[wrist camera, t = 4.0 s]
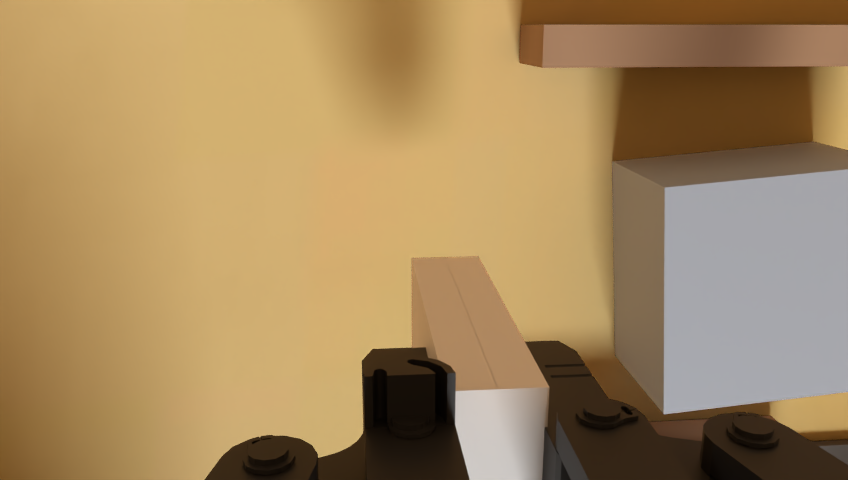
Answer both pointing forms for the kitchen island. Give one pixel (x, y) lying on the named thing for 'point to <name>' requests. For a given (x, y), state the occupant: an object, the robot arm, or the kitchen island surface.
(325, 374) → the kitchen island surface
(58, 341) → the kitchen island surface
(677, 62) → the trap lane
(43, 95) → the kitchen island surface
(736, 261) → the gray block
